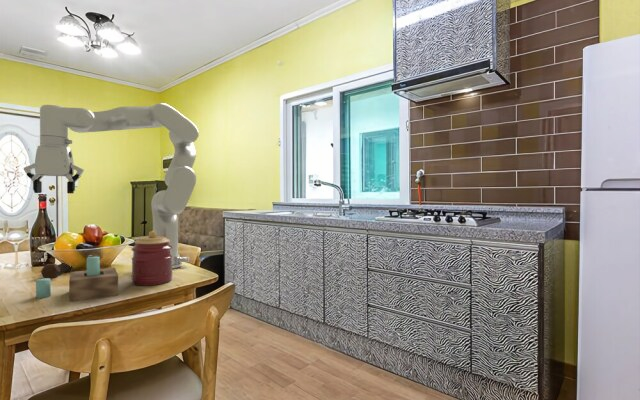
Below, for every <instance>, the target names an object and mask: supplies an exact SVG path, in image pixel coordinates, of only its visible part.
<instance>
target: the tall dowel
mask: <svg viewBox="0 0 640 400" xmlns="http://www.w3.org/2000/svg"><path fill="white" fill-rule="evenodd" d="M100 269H101V256H89V257H86V271H87V276H94V275H100Z"/></svg>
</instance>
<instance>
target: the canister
mask: <svg viewBox="0 0 640 400" xmlns="http://www.w3.org/2000/svg"><path fill="white" fill-rule="evenodd" d="M169 242H170V240H169V239H167V238H166V237H164V236H157V234H156V232H155V231H153V230H151V231H149V232H148V235H147V236H141V237H139V238H138V239H136V240H134V241H133V243H134V246H133V247H131V251H132V253H133V254H132V257H131V258H130V259H131V277H130V278H131V281H132V284H133V285H136V286H156V285H161V284H162V285H163V284H166V283H169V282H170V281H172V279H173V269H172V257H173V256H172V255H171V249H172V248H173V247H172V246H171V245H170V244H169Z"/></svg>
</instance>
